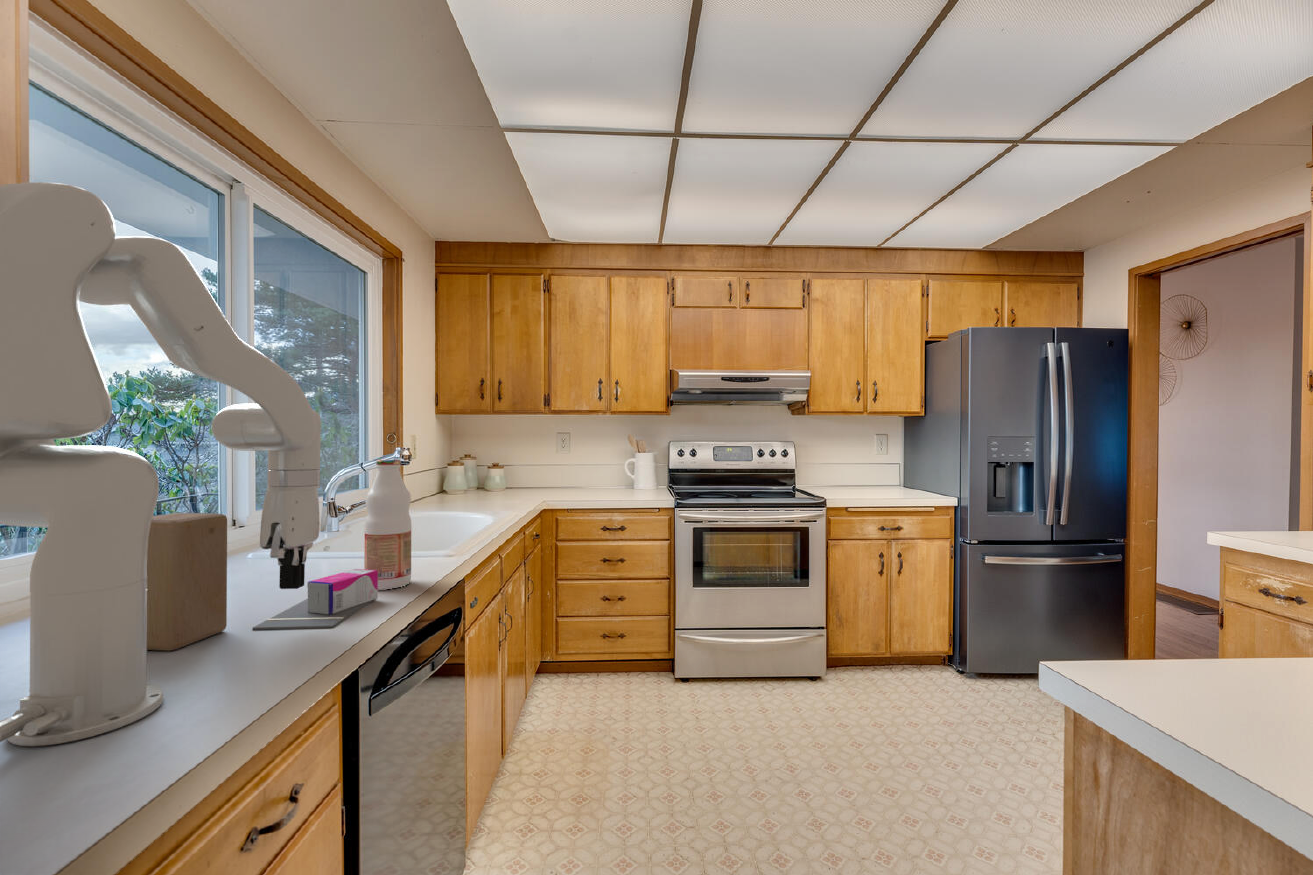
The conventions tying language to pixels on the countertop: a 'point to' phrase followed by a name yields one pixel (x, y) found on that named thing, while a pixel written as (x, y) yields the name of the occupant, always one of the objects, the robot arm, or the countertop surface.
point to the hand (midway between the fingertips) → (291, 587)
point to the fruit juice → (388, 527)
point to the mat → (306, 618)
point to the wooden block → (186, 579)
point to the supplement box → (342, 591)
